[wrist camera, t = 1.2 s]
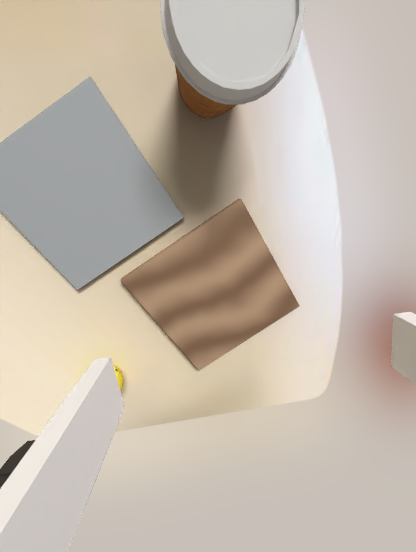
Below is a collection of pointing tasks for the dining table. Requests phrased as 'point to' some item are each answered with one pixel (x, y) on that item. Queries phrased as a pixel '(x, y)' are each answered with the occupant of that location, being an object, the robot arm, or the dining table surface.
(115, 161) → the slate grey mat
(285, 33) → the disposable coffee cup
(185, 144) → the dining table surface
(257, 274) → the walnut board
